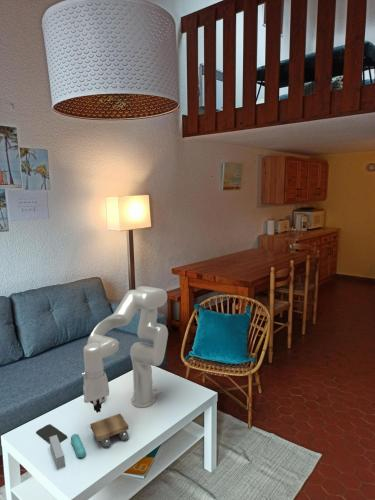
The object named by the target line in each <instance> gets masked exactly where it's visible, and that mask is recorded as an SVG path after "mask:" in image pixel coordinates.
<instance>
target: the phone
mask: <svg viewBox="0 0 375 500" xmlns="http://www.w3.org/2000/svg"><path fill="white" fill-rule="evenodd" d="M35 434H36V435H38V436H39V437H40V438H41V439H42V440H44V441H45V442H47V443H48V444H49V445H50V438H49V437H52V436H55V435H57V437H58V440H59V442H60V444H61V443H62V442H64V441H66V440H67V439H68V435H67V434H65V433H64V432H62V431H61V430H59V429H58V428H57V427H55V426H54V425H52V424H49V423H48V424H46V425H45V426H43V427H41V428H40V429H38V430H36V431H35Z"/></svg>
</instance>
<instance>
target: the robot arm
mask: <svg viewBox="0 0 375 500" xmlns="http://www.w3.org/2000/svg"><path fill="white" fill-rule="evenodd" d="M167 301H168V293H167V291H166V290H164V289H163V288H158V287H153V286H146V285H140V286H137V288H135V289H130V290H128V291H127V292H126V293H125V295H124V296H123V298H122V299H121V301H120V303H119V305H118V306H117V308H116V309H115V311H114V313H112V314H110V315H109V316H107V317H106V318H104V319H102V320H101V321H100V322H99V323H97V325H95V327H94V328H93V330H92V331H91V333H90V334H89V336H88V337H87V338H88V339H87V344H86V345H84V347H83V360H84V361H83V362H84V371H83V372H81V377H83V385H82V387H83V388H82V390H83V397H84V398H83V402H84V403H85V404H87V403H90V404H92V405H93V411H95V412H96V414H99V413H101V409H102V403H103V402H102V400H103V399H104V398H105V399H106V398H107V397H108V396H110V386H109V380H108V376H107V373H106V371H104V370H105V369H104V359H106V358H109V357H111V356H114V355H115V354H116V353H117V352H118V351H119V348H120V343H119V341H118V340H117V339H116V338H113V337H110V336H105V335H106V334H107V333H108V332H109V331H111V330H114V329H116V328H120V327H125V326H127V325H129V324H130V323H131V322H132V319H133V318H134V316H135V314H136V313H137V311H138V310H140V317H139V321H138V327H137V337H138V338H139V339H141V340H143V342H142V341H137V342H135V343H133V344H132V345H131V347H130V351H129V352H130V353H129V355H130V359H131V363H132V377H133V378H132V379H133V395H132V396H131V397H130V400H131V401H130V402H131V404H132V406H134V407H137V408H147V407H150V406H152V405H154V403H156V400H157V399H156V396H157V395H160V394H161V393H162V390H161V389H160V388H159V389H158V388H153V369H152V366H153V367H157V366H160V365H161V364H162V363H163V361H164V358H165V355H166V354H165V353H166V348H167V343H168V336H169V331H168V327H167V326H166V325H165V324H162V323H158V322H157V320H158V319H157V318H158V308H160V307H163V306H164V305H165V304H166V302H167ZM144 341H147V342H151V343H153V344H150V343H147V342H144ZM97 399H98V400H97ZM96 400H97V401H96Z"/></svg>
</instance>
